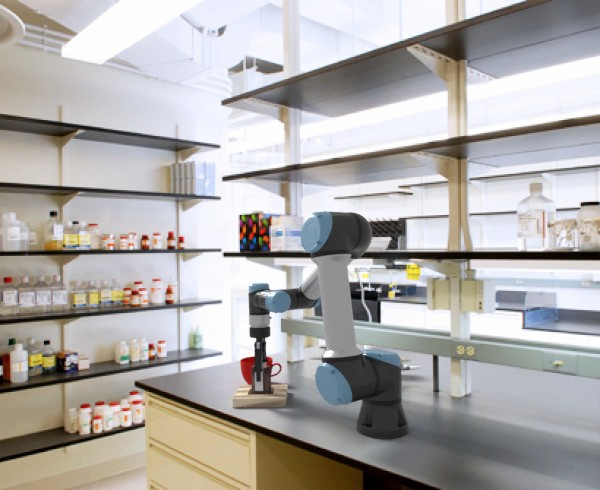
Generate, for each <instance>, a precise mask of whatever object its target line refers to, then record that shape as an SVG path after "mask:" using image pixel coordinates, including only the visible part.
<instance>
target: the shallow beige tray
mask: <svg viewBox="0 0 600 490" xmlns="http://www.w3.org/2000/svg"><path fill="white" fill-rule="evenodd" d="M288 390H289V389H288V384H271V394H267V395H252V385H249V384H245V385H242V384H241V385H239V386H238V388H237V390H236V392H235V393H234V396H233V397H232V408H234V409H236V408H238V407H239V408H241V407H243V408H285V407H286V404H287V399H288V393H289V391H288ZM239 408H238V409H239ZM241 409H242V408H241Z"/></svg>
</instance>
